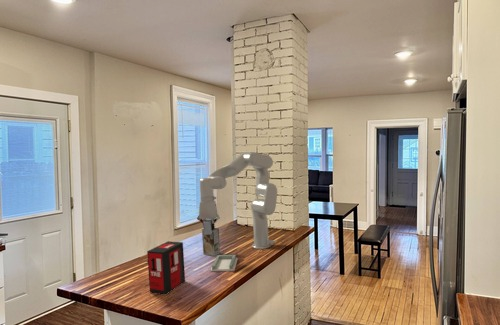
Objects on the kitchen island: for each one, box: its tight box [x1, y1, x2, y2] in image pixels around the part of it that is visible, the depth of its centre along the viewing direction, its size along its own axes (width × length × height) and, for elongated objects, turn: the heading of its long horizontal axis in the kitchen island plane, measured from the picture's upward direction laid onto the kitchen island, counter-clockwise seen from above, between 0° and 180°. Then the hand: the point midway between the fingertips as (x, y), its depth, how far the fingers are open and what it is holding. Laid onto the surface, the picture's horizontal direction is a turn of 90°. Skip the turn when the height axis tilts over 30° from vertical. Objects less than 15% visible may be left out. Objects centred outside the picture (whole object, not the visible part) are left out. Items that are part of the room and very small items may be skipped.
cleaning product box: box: [146, 240, 186, 295], centre depth 166 cm, size 16×9×20 cm, turn 159°
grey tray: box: [210, 254, 239, 272], centre depth 193 cm, size 13×18×3 cm
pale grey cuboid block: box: [203, 219, 214, 235], centre depth 199 cm, size 4×10×7 cm, turn 175°
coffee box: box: [201, 227, 221, 257], centre depth 214 cm, size 9×6×16 cm
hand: (209, 229), depth 199 cm, fingers closed on pale grey cuboid block, 3 cm apart
